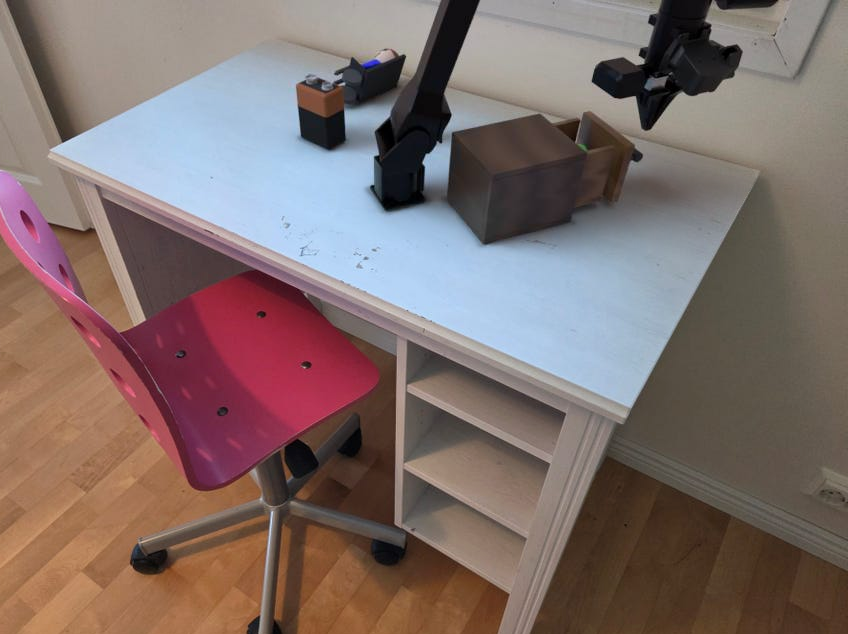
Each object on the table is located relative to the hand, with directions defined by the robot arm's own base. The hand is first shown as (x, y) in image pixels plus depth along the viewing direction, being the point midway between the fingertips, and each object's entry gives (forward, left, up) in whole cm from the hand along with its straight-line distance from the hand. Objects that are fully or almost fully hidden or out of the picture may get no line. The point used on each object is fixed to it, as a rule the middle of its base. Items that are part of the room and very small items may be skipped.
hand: (645, 129), depth 92 cm
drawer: (-10, 0, -7) cm, 13 cm away
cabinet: (-21, 0, -8) cm, 22 cm away
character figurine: (-26, +41, -8) cm, 50 cm away
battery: (-39, +29, -8) cm, 50 cm away
